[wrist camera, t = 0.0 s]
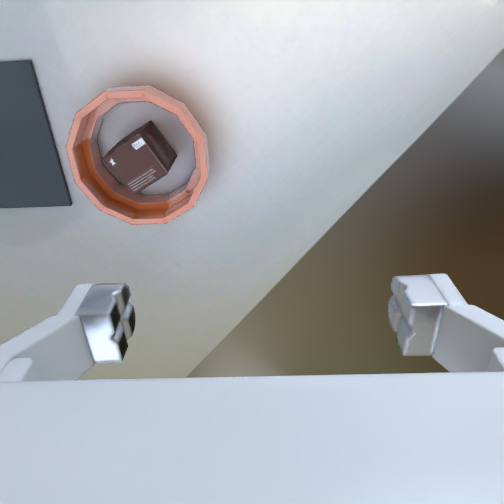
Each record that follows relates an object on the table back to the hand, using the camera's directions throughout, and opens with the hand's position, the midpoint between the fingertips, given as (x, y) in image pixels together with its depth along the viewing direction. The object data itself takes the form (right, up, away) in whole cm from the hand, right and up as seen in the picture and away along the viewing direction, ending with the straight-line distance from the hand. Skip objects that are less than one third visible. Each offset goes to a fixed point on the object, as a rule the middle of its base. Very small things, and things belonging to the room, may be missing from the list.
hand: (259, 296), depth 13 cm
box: (-15, +16, +47) cm, 52 cm away
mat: (-37, +17, +46) cm, 62 cm away
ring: (-15, +16, +47) cm, 51 cm away
